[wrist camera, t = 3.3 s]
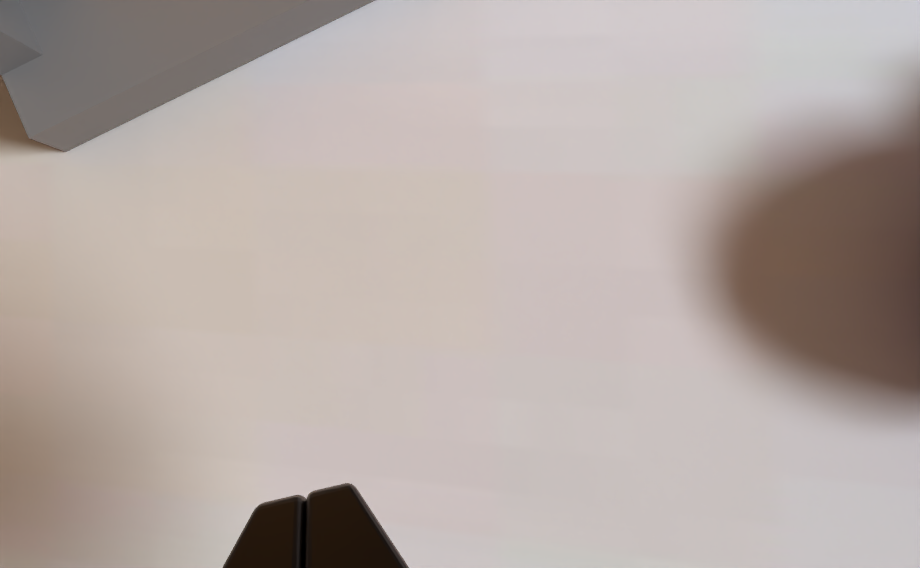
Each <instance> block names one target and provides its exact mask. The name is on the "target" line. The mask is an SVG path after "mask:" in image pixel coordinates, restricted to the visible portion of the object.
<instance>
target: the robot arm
mask: <svg viewBox="0 0 920 568" xmlns="http://www.w3.org/2000/svg"><path fill="white" fill-rule="evenodd" d="M223 568H409V567H408V566H407V564H406V563H405V561H404V560H403V558H402V557H401V555H400V553H399V552H398V550H397V549H396V547H395V546H394V544H393V543H392V541H391V540H390V538H389V537H388V535H387V534H386V532H385V531H384V529H383V528H382V526H381V525H380V523H379V522H378V520H377V519H376V517H375V516H374V514H373V513H372V511H371V510H370V508H369V507H368V505H367V504H366V502H365V501H364V499H363V497H362V496H361V494H360V493H359V491H358V490H357V489H356V487H355V486H353V485H352V484H349V483H345V484H341V485H337V486H332V487H328V488H324V489H320V490H315V491H313V492H311V493H310V494H309V495H308V497H307V500H306V498H305V497H303V496H300V495H294V496H290V497H286V498H282V499H277V500H273V501H269V502H265V503H262V504H260V505H259V506H258V507H257V508H256V509H255V510H254V511H253V513H252V515H251V517H250V519H249V520H248V522H247V524H246V526H245V528H244V529H243V531H242V533H241V535H240V537H239V539H238V540H237V542H236V544H235V546H234V548H233V550H232V551H231V553H230V555H229V557H228V559H227V560H226V562H225V564H224V566H223Z"/></svg>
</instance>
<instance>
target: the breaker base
mask: <svg viewBox="0 0 920 568" xmlns="http://www.w3.org/2000/svg"><path fill="white" fill-rule="evenodd" d="M373 1H375V0H0V75H2V78H3V80H4V82H5V85H6V87H7V89H8V92H9V94H10V96H11V98H12V101H13V103H14V105H15V108H16V110H17V112H18V115H19V117H20V119H21V122H22V124H23V126H24V129H25V131H26V133H27V135H28V138H30V139H32V140H35V141H38V142H40V143H43V144H46V145H48V146H51V147H54V148H56V149H59V150H62V151H64V152H67V151H69V150H71V149H73V148H75V147H77V146H79V145H81V144H83V143H85V142H87V141H89V140H91V139H93V138H95V137H97V136H99V135H101V134H103V133H105V132H107V131H109V130H111V129H113V128H115V127H118V126H120V125H122V124H124V123H126V122H128V121H130V120H132V119H134V118H136V117H138V116H140V115H142V114H144V113H146V112H148V111H150V110H152V109H154V108H156V107H158V106H160V105H162V104H164V103H166V102H169V101H171V100H173V99H175V98H177V97H179V96H181V95H183V94H185V93H187V92H189V91H191V90H193V89H195V88H197V87H199V86H201V85H203V84H205V83H207V82H209V81H211V80H213V79H215V78H217V77H220V76H222V75H224V74H226V73H228V72H230V71H232V70H234V69H236V68H238V67H240V66H242V65H244V64H246V63H248V62H250V61H252V60H254V59H256V58H258V57H260V56H262V55H264V54H266V53H268V52H271V51H273V50H275V49H277V48H279V47H281V46H283V45H285V44H287V43H289V42H291V41H293V40H295V39H297V38H299V37H301V36H303V35H305V34H307V33H309V32H311V31H313V30H315V29H317V28H319V27H322V26H324V25H326V24H328V23H330V22H332V21H334V20H336V19H338V18H340V17H342V16H344V15H346V14H348V13H350V12H352V11H354V10H356V9H358V8H360V7H362V6H364V5H366V4H368V3H370V2H373Z"/></svg>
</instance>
